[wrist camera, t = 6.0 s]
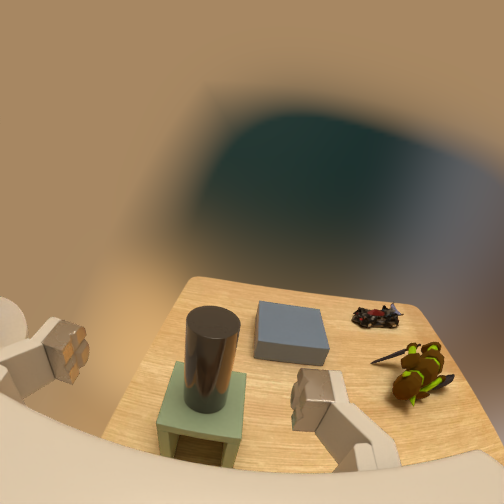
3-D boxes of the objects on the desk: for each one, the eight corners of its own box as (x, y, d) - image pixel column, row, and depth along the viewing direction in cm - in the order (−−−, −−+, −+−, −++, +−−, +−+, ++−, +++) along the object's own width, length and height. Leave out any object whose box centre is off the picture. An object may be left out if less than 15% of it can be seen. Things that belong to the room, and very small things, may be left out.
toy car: (400, 329, 62) (406, 314, 61) (356, 329, 60) (362, 314, 59) (388, 314, 68) (394, 300, 66) (346, 313, 66) (352, 298, 64)
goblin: (381, 345, 57) (351, 375, 46) (444, 325, 47) (431, 355, 36) (394, 388, 54) (367, 425, 43) (456, 372, 45) (444, 412, 34)
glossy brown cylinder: (179, 409, 26) (180, 332, 22) (187, 378, 30) (192, 301, 26) (224, 417, 26) (238, 342, 22) (228, 385, 30) (242, 310, 26)
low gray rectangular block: (253, 358, 49) (257, 340, 47) (255, 317, 60) (259, 300, 58) (322, 365, 49) (329, 349, 48) (314, 325, 60) (319, 309, 59)
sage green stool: (161, 465, 28) (155, 423, 24) (176, 410, 36) (176, 360, 32) (229, 477, 28) (241, 438, 24) (235, 421, 36) (246, 373, 32)
